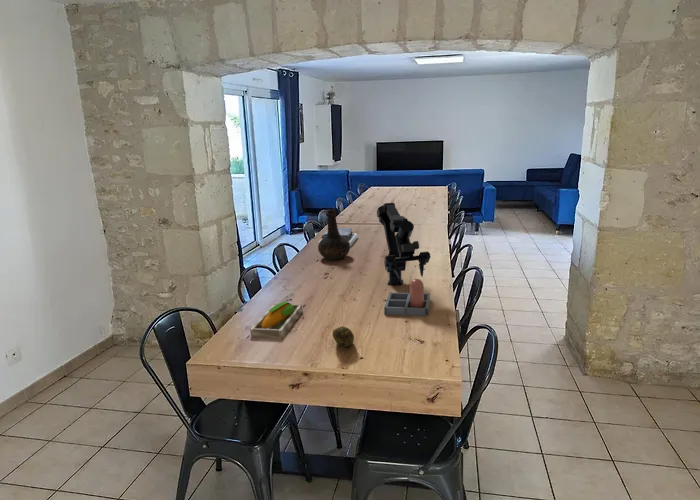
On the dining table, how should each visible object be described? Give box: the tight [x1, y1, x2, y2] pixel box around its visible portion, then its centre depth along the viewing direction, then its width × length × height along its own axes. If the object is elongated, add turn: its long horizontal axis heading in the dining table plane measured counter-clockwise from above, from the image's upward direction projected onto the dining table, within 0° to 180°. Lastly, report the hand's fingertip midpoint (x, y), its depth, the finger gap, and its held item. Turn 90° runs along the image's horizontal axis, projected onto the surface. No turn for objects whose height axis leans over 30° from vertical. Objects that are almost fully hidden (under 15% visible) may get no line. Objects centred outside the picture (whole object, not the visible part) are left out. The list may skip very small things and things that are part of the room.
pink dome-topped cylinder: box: [409, 278, 425, 308], centre depth 190 cm, size 5×5×13 cm
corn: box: [261, 301, 294, 329], centre depth 186 cm, size 7×8×20 cm
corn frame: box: [249, 303, 303, 339], centre depth 187 cm, size 25×12×3 cm, turn 168°
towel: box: [321, 227, 353, 241], centre depth 306 cm, size 15×18×8 cm
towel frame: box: [317, 232, 358, 248], centre depth 306 cm, size 23×20×3 cm
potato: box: [332, 326, 355, 348], centre depth 165 cm, size 8×13×8 cm, turn 168°
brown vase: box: [317, 208, 351, 261], centre depth 269 cm, size 18×18×28 cm
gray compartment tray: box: [383, 292, 431, 317], centre depth 197 cm, size 17×17×3 cm
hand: (411, 277), depth 197 cm, fingers open, 9 cm apart
